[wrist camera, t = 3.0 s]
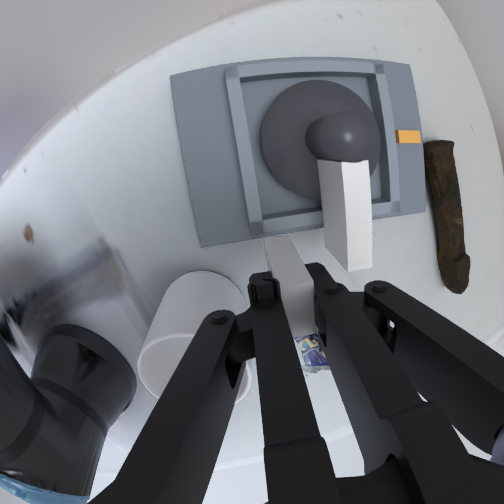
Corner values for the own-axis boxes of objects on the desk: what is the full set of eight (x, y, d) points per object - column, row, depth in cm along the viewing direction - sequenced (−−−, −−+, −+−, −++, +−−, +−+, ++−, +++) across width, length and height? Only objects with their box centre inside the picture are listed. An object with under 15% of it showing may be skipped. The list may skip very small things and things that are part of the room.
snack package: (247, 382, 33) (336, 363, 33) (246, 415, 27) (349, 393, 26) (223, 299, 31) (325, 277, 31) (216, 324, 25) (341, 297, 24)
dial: (250, 89, 19) (257, 63, 13) (361, 84, 19) (403, 66, 13) (275, 247, 24) (289, 283, 17) (376, 230, 24) (417, 257, 17)
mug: (131, 318, 29) (97, 385, 19) (203, 250, 26) (187, 310, 16) (186, 363, 31) (175, 434, 21) (262, 307, 29) (276, 381, 19)
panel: (203, 238, 26) (198, 254, 22) (175, 82, 21) (164, 70, 17) (412, 206, 26) (435, 216, 22) (396, 69, 21) (419, 61, 17)
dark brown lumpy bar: (410, 144, 24) (437, 145, 20) (436, 137, 24) (463, 139, 19) (428, 292, 30) (448, 310, 26) (450, 281, 30) (470, 297, 26)
